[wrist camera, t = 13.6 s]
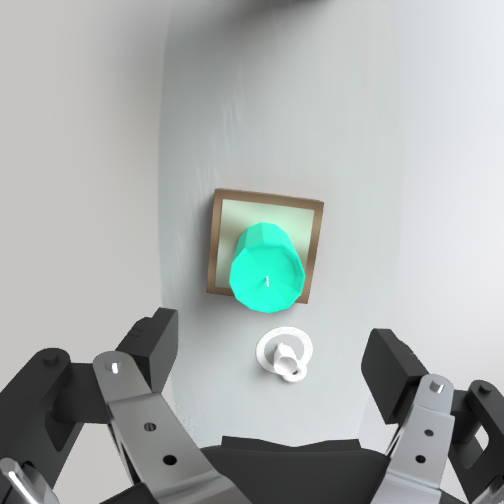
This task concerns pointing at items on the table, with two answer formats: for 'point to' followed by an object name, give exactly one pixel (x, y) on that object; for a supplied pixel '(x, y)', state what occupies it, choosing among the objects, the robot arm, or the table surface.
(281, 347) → the teacup and saucer
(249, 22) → the table surface
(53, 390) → the robot arm
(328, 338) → the table surface
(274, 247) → the candle
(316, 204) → the framed mirror
